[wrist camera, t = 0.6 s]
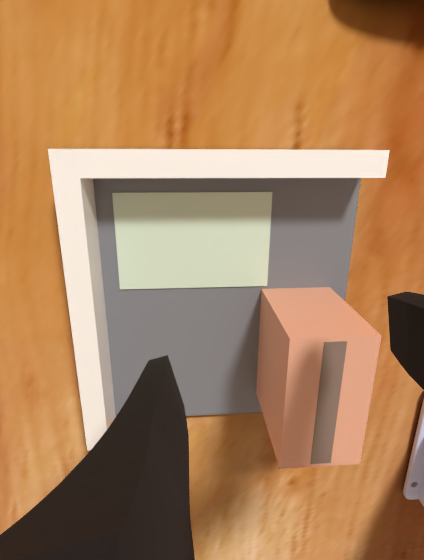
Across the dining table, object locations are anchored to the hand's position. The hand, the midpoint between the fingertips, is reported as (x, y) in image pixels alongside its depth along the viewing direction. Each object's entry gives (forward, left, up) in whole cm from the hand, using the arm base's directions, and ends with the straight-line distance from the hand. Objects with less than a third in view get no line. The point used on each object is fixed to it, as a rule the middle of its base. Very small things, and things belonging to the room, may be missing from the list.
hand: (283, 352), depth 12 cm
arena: (-2, +1, -10) cm, 10 cm away
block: (-5, -3, -10) cm, 11 cm away
